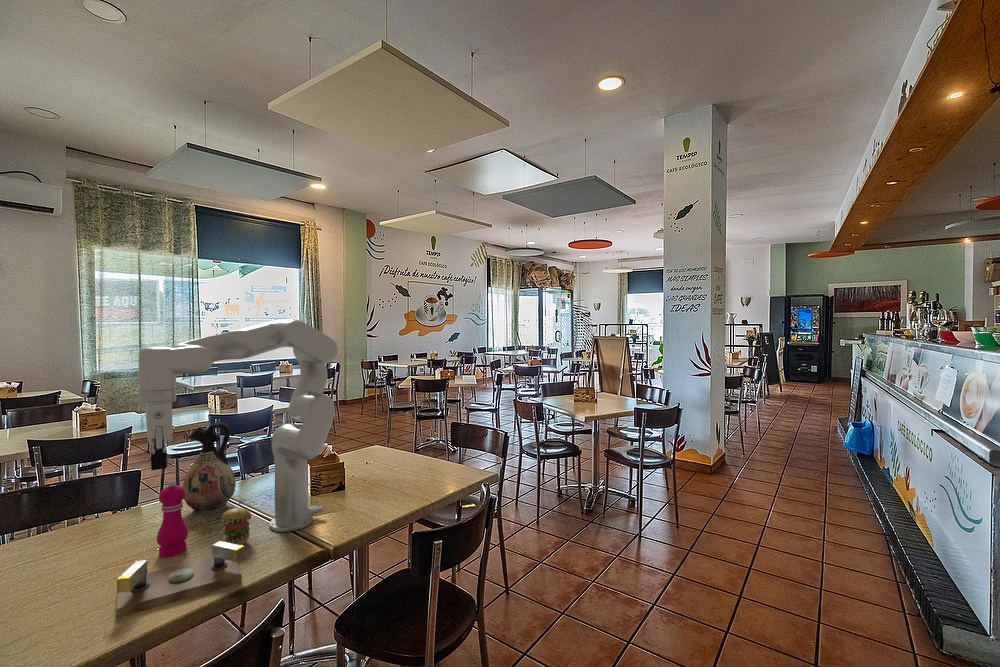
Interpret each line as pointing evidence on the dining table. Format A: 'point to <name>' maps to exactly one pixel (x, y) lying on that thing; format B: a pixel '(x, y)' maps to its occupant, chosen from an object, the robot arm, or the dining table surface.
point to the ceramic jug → (209, 473)
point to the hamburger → (236, 525)
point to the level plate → (178, 584)
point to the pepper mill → (172, 521)
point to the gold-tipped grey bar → (226, 553)
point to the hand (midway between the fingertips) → (159, 468)
